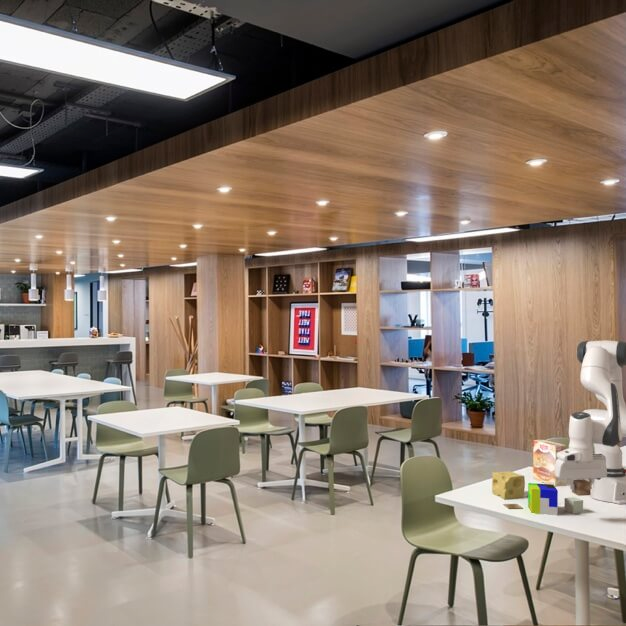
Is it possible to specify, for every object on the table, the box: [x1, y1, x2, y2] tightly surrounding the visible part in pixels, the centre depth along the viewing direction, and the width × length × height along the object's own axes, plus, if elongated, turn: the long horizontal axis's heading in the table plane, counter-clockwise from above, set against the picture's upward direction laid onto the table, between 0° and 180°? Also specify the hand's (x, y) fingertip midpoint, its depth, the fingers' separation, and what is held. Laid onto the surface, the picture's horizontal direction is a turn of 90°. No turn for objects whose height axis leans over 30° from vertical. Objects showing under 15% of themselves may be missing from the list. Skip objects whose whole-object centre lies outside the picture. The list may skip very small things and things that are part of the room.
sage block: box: [563, 496, 584, 514], centre depth 259 cm, size 5×5×5 cm
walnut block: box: [571, 478, 592, 497], centre depth 247 cm, size 5×5×5 cm
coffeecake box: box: [532, 439, 567, 487], centre depth 307 cm, size 15×7×20 cm, turn 23°
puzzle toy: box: [527, 482, 559, 516], centre depth 258 cm, size 10×10×10 cm
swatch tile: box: [502, 503, 524, 510], centre depth 263 cm, size 6×6×1 cm
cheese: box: [491, 470, 526, 500], centre depth 281 cm, size 10×11×10 cm
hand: (581, 489), depth 247 cm, fingers closed on walnut block, 5 cm apart
